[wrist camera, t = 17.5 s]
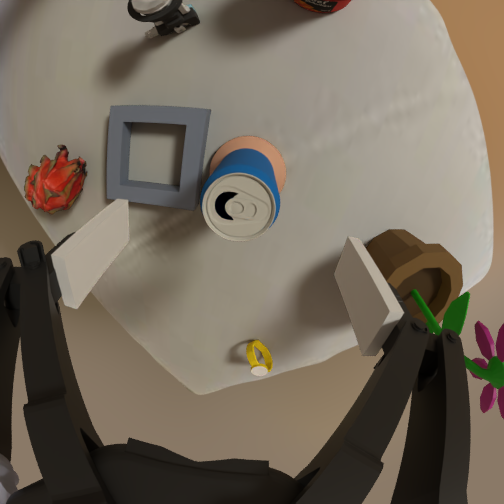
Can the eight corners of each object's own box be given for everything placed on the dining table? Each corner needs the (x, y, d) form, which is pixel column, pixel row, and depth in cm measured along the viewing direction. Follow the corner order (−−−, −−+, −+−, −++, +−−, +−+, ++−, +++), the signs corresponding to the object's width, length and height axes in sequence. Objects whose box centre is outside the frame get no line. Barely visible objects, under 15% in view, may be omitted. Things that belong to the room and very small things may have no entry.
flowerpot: (426, 283, 39) (509, 430, 13) (351, 306, 41) (404, 486, 15) (429, 205, 32) (574, 355, 6) (340, 228, 35) (445, 454, 9)
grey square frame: (120, 105, 27) (110, 105, 25) (211, 109, 28) (207, 109, 26) (115, 192, 33) (106, 198, 31) (198, 203, 34) (194, 210, 31)
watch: (244, 338, 46) (240, 363, 40) (257, 332, 45) (255, 357, 39) (263, 357, 48) (262, 382, 42) (276, 352, 47) (275, 377, 41)
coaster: (216, 130, 29) (215, 131, 28) (292, 143, 30) (293, 144, 29) (206, 201, 33) (205, 203, 33) (277, 213, 34) (277, 215, 33)
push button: (155, 52, 24) (117, 35, 15) (144, 22, 22) (106, -1, 13) (206, 30, 23) (185, 1, 14) (193, 0, 20) (170, -35, 12)
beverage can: (223, 143, 29) (201, 161, 19) (278, 152, 30) (289, 176, 19) (215, 195, 32) (193, 239, 22) (267, 204, 33) (271, 252, 22)
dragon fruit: (48, 181, 33) (104, 153, 33) (47, 230, 32) (106, 205, 32) (15, 162, 25) (74, 125, 25) (9, 217, 24) (69, 183, 24)
